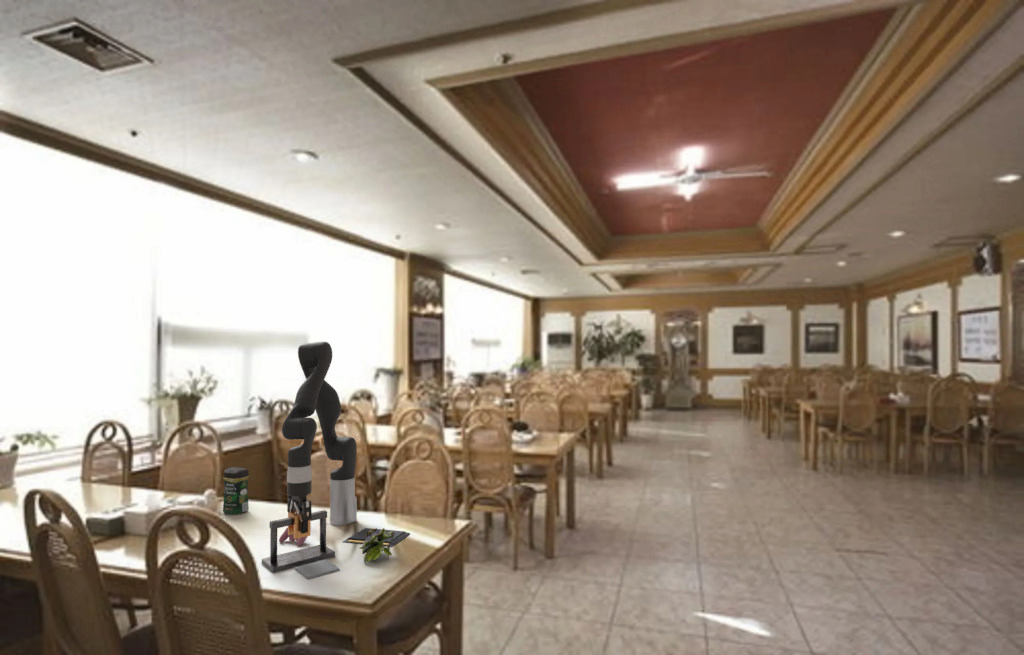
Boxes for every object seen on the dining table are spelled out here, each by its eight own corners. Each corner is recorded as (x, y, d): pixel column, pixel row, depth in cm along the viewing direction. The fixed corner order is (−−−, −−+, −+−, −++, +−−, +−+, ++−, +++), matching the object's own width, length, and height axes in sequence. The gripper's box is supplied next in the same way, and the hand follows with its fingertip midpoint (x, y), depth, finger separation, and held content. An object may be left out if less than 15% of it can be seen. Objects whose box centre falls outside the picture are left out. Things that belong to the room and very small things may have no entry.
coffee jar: (219, 513, 236) (219, 468, 236) (234, 508, 243) (234, 465, 244) (237, 516, 232) (237, 470, 233) (252, 510, 240) (252, 466, 240)
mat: (325, 561, 183) (326, 559, 183) (339, 570, 175) (339, 568, 175) (294, 569, 176) (294, 567, 176) (307, 579, 169) (307, 577, 169)
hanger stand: (261, 563, 181) (262, 519, 182) (322, 548, 194) (322, 507, 195) (272, 572, 174) (273, 526, 174) (335, 556, 187) (335, 513, 187)
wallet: (411, 530, 209) (391, 544, 195) (411, 535, 209) (391, 549, 195) (364, 525, 215) (340, 538, 201) (364, 530, 215) (340, 544, 201)
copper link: (287, 534, 185) (288, 512, 185) (303, 531, 188) (303, 509, 188) (294, 539, 180) (295, 516, 181) (310, 535, 184) (310, 513, 184)
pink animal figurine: (306, 548, 199) (313, 527, 202) (298, 546, 196) (304, 525, 199) (285, 544, 203) (292, 524, 206) (276, 542, 200) (283, 521, 203)
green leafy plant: (371, 572, 188) (379, 535, 195) (398, 570, 183) (405, 533, 191) (349, 561, 180) (359, 524, 187) (377, 560, 176) (386, 521, 183)
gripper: (319, 481, 182) (319, 532, 181) (302, 474, 193) (301, 522, 192) (296, 485, 177) (295, 537, 176) (279, 477, 188) (279, 527, 187)
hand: (299, 529), depth 184 cm, fingers open, 8 cm apart
